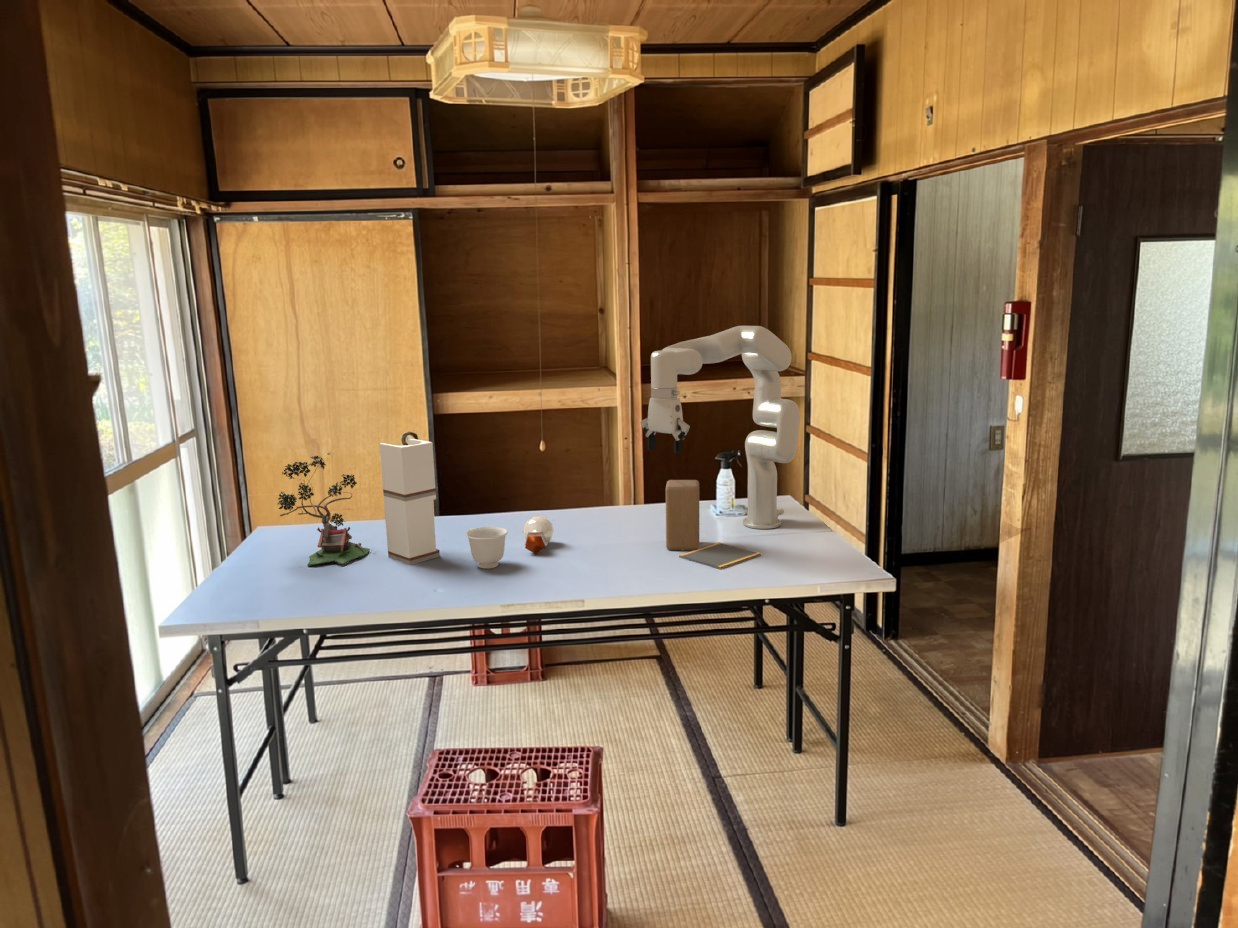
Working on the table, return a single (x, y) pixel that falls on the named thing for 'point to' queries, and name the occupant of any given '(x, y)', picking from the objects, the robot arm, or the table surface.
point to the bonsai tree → (325, 520)
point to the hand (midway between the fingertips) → (664, 451)
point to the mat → (719, 555)
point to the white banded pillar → (409, 500)
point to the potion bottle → (537, 533)
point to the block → (682, 515)
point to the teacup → (487, 545)
